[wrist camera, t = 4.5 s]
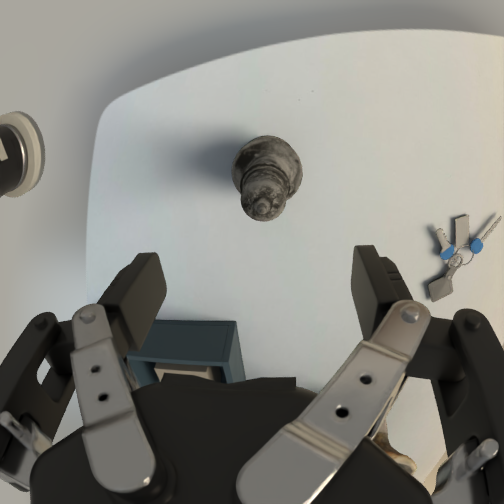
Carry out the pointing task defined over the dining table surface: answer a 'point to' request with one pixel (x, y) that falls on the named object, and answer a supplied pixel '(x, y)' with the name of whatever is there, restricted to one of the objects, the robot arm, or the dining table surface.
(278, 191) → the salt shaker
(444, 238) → the key chain
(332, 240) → the dining table surface
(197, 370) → the block
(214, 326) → the crate
